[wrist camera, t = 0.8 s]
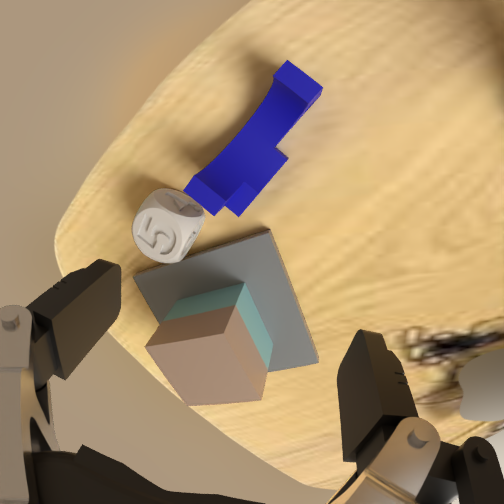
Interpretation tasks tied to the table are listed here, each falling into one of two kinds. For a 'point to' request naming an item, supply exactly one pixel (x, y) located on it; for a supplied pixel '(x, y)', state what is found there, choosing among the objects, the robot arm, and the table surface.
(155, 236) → the die
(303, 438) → the table surface
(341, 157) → the table surface
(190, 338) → the brick tower
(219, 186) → the blue saddle bracket
